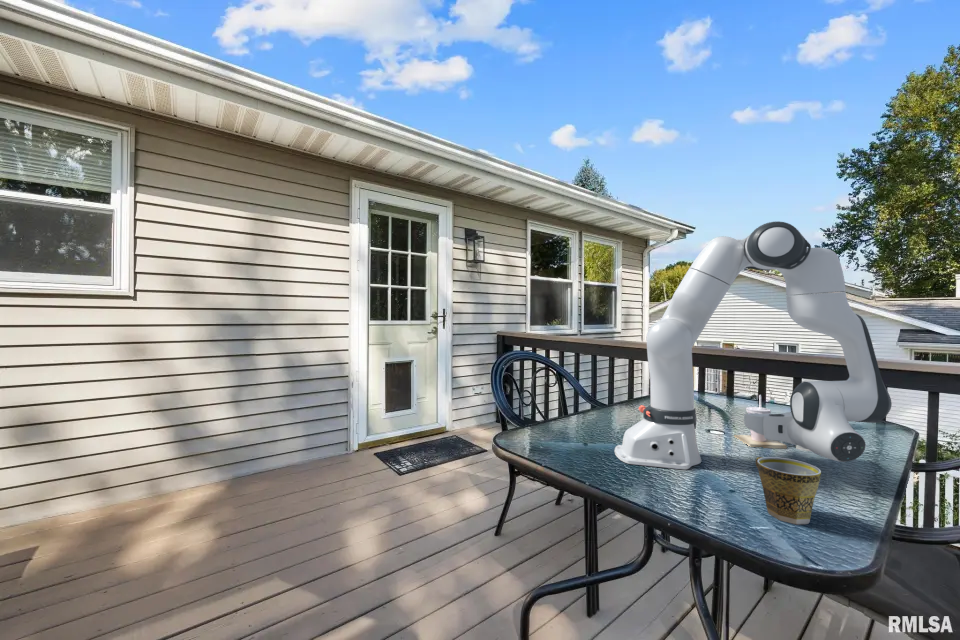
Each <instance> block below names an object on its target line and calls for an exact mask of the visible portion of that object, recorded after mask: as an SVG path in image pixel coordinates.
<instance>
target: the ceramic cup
mask: <svg viewBox="0 0 960 640" xmlns="http://www.w3.org/2000/svg"><path fill="white" fill-rule="evenodd" d="M755 465H756V468H757V471H758V476H759V479H760V482H761V486H762V491H763V495H764V500H765V505H766V510H767V511H766V512H767V513H768V515H770V516H771V517H773V518H775V519H777V520H778V521H781V522H785V523H789V524H793V525H809V523H810V522H811V516H812V511H813V506H814V502H815V497H816V495H817V492H818V489H819V485H820V481H821V477H822V470H821V469H820V468H818V467H817V466H815V465H814V464H810V463H807V462H804V461H800V460H797V459H793V458H792V459H791V458H788V457H787V458H786V457H779V456H766V457H763V456H758V457H756V459H755Z"/></svg>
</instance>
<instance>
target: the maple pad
mask: <svg viewBox="0 0 960 640" xmlns="http://www.w3.org/2000/svg"><path fill="white" fill-rule="evenodd" d="M734 437H735V438H737V439H739V440H740V441H742V442H743V443H742V442H741V443H742V444H744V443H745V444H747V445H748V446H747V445H746V446H747V447H749V446H750V447H763V448H762V449H780V450H781V449H783V450H785V449H787V448H788V445H787V444H785V443H784V442H780V441H773V440H768V439H766V441H764V442H761V441H755V440H752V437H751V434H734V435H733V438H734ZM735 438H734V439H735ZM737 439H736V440H737ZM739 440H738V441H739ZM740 441H739V442H740ZM745 444H744V445H745ZM750 447H749V448H750Z"/></svg>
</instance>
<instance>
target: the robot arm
mask: <svg viewBox="0 0 960 640" xmlns="http://www.w3.org/2000/svg"><path fill="white" fill-rule="evenodd" d="M744 269H750V270H757V271H770V270H776V271H777V272H779V273H780V274H781V275H782V277H783V278H784V282H785V293H786V294H785V295H786V296H785V297H786V308H787V312H788V315H789V317H790V318H791V321H793V322H794V323H795V324H797V325H798V326H800V327H802V328H804V329H807V330H809V331H811V332H815V333H817V334H818V333H819V334H823V335H825V336H828V337H831V338H832V339H834V340H835V341H836V342H838V344H839V345H840V347H841V348H842V353H843V357H844V359H845V364H846V368H847V371H848V374H849V376H848V378H847V379H846V380H817V381H816V380H815V381H813V380H812V381H811V380H810V381H802V382H800V383H799V384H797V386H796V387H795V388H794V390H793V391H792V393H791V395H790V399H789V405H790V406H789V408H790V411H788V412H782V413H771V414H758V413H752V414H749V413H748V412H747V413H745V414H744V415H743V423H744V424H743V425H744V427H746V428H747V429H749V431H750V430H752V431H754V432H756V433H758V434H762V435H764V438H766V439H768V440H773V441H779V442H781V443H786V444H787V443H788V444H791V445H794V446H796V445H799V446H801V447H803V448H806V449H809V450H810V451H809V452H812V453H814V454H816V455H818V456H821V457H823V458H825V459H828V460H832V461H835V462H840V463H841V462H842V463H846V462H851V461H854V460H856V459H858V458H860V457H861V456H862V455H863V454H864V452H865V450H866V448H867V447H866V440H865V439H864V437H863V436H862V435H861V434H860V433H858V432H857V431H856V430H855V429H854V428H853V427H852V425H851V423H849V422H855V423H856V422H857V423H867V424H868V423H869V424H875V423H879V422H882V420H884V419H885V418H886V417H887V416H888V414H889V413H890V411H891V409H892V407H893V406H892V404H893V403H892V402H893V401H892V399H891V396H890V394H889V391H888V389H887V387H886V385H885V384H884V381H883V378H882V375H881V374H882V373H881V371H880V367H879V364H878V361H877V356H876V353H875V348H874V345H873V341H872V338H871V335H870V334H871V333H870V332H869V329H868V326H867V324H866V321H865V320H864V318H863V317H862V316H861V315H859V314H858V313H855V312H854V311H853V309H852V307H851V305H850V304H849V301H848V299H847V292H846V289H847V288H846V282H845V276H844V270H843V268H842V264H841V261H840V258H839V256H838V254H837V253H836V251H833V250H832V249H829V248H826V247H812V245H811V243H810V242H809V241H808V240H807V239H806V238H805V237H804V236H803V234H802V233H801V232H800V230H799V229H798V228H796V227H795V226H794V225H792V224H790V223H788V222H785V221H771V222H770V221H769V222H767V223H763V224H761V225H760V226H757V227H756V228H755V229H754V230H753V231H752V232H751V233H750V234H749V235H748V236H747V237H745V238H742V239H736V238H735V237H731V236H724V235H723V236H717V237H713V239H711V240H710V241H709V242H708V243H707V244H706V245H705V246H704V247H703V248H702V250H701V251H700V252H699V253H698V255H697V256H696V257H695V259H694V261H693V262H692V263H691V265H690V266H689V268H688V270H687V271H686V273H685V274H684V276H683V278H682V279H681V282H680V283H679V284H678V286H677V288H676V289H675V291H674V293H673V295H672V297H671V299H670V302H669V304H668V305H667V308H666V309H665V311H664V313H663V315H662V317H661V318H660V320H657V321H656V322H654V323H653V324H652V325H651V326H650V327H649V328H648V330H647V333H646V339H645V340H646V341H645V342H646V353H647V354H646V355H647V363H648V372H649V383H650V385H649V386H650V388H649V389H650V390H649V391H650V396H649V397H650V405H648V406H645V405H639V407H638V411H639V412H640V413H641V414H643V415H642V416H643V418H642V419H641V420H639V421H638V422H636V423H635V424H633V425H632V426H630V427H629V428H627V429H626V430H625V432H624V434H623V437H622V444H618V445H616V446H615V447H614V454H615V456H616V457H617V459H619V460H620V461H621V462H623V463H625V464H629V465H637V466H638V465H639V466H648V467H656V468H657V467H658V468H668V469H677V470H689V469H690V468H691V467H693V466H697V465H700V464H701V462H702V458H701V455H700V452H699V447H698V443H697V442H698V441H697V436H696V428H697V413H696V411H697V410H696V408H695V407H694V406H695V396H694V395H695V393H694V392H695V390H694V389H695V386H694V385H695V384H694V383H695V382H694V381H695V380H694V379H695V378H694V369H693V352H692V351H693V350H692V349H693V347H694V345H695V343H696V342H697V340H698V339H699V337H700V336H701V334H702V332H703V330H704V329H705V328H706V326H707V324H708V322H709V321H710V320H711V318H712V316H713V314H714V313H715V312H716V310H717V308H718V307H719V305H720V304H721V301H723V299H724V297H725V296H726V294H727V293H728V291H729V290H730V288H731V286H732V285H733V283H734V282H735V280H736V278H737V277H738V275H739V274H740V273H741V272H742V271H743V270H744Z"/></svg>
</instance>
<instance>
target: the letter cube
mask: <svg viewBox="0 0 960 640" xmlns="http://www.w3.org/2000/svg"><path fill="white" fill-rule="evenodd" d="M795 449H796V450H801V451H805V452H811V451H810V450H809V449H806V448H803V447H801V446H799V445H795Z"/></svg>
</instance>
